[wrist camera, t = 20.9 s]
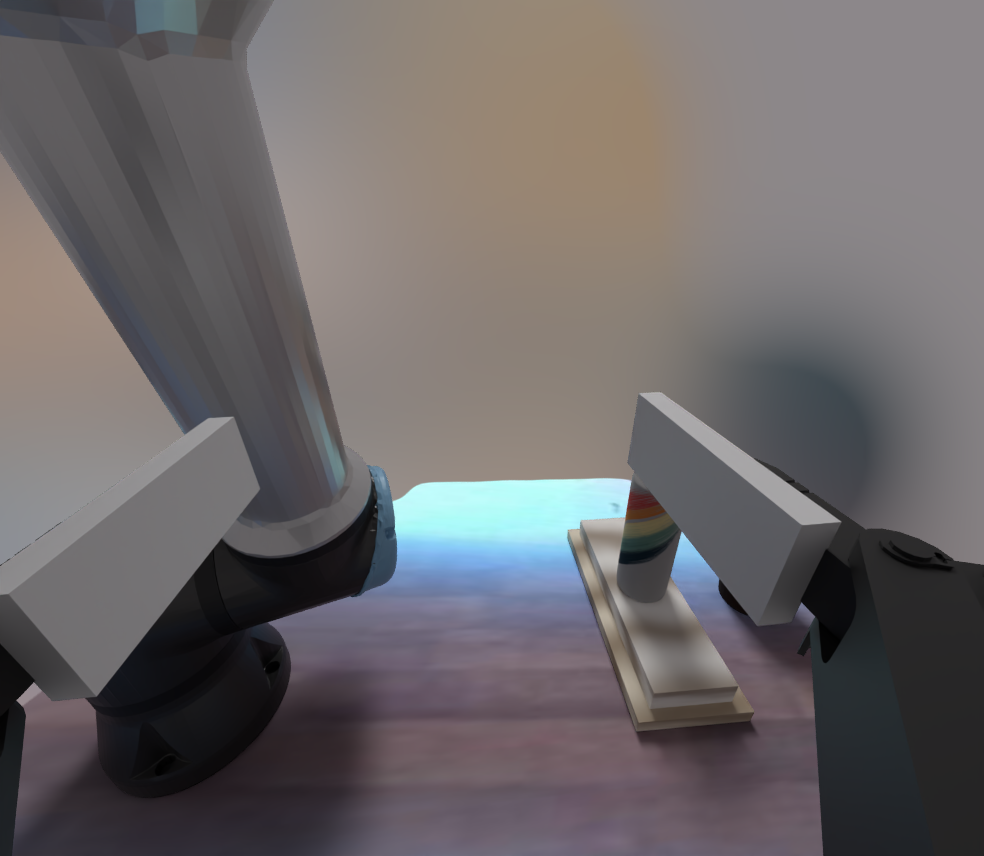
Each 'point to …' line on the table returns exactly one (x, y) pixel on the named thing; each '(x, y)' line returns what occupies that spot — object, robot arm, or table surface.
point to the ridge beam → (654, 643)
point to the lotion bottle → (646, 546)
